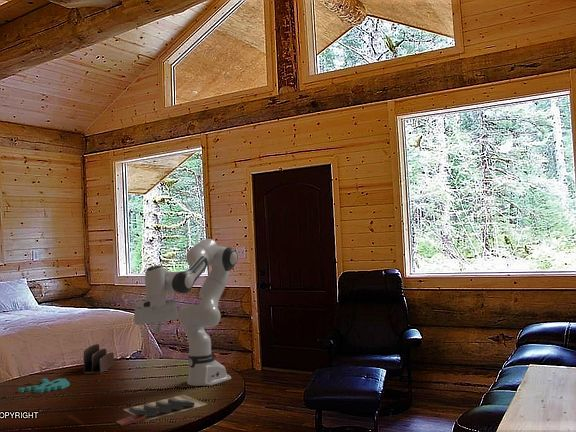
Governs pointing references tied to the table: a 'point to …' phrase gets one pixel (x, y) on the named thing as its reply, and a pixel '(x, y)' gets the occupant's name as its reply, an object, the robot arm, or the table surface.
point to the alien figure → (47, 386)
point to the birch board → (161, 414)
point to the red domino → (131, 419)
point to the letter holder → (97, 360)
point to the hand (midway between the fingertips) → (157, 332)
